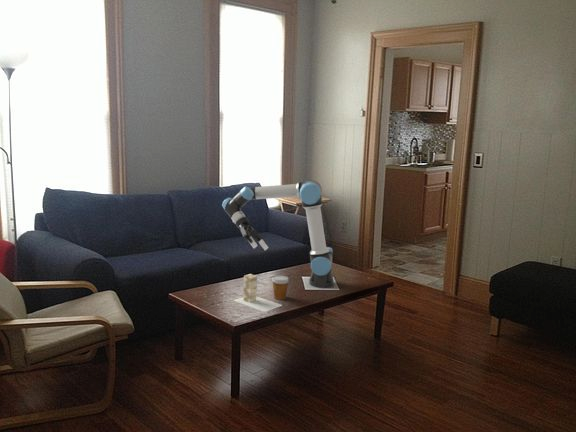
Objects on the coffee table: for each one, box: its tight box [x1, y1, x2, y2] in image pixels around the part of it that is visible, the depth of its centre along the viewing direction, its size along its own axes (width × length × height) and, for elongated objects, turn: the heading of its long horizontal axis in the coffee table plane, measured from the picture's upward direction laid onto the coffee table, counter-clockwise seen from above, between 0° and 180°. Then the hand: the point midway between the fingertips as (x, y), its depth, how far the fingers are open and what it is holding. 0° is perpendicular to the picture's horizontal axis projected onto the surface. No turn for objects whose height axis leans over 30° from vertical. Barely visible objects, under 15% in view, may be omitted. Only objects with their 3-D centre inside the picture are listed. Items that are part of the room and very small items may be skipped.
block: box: [242, 273, 258, 302], centre depth 289 cm, size 5×5×14 cm
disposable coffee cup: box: [271, 275, 290, 301], centre depth 295 cm, size 10×10×12 cm
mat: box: [233, 295, 283, 313], centre depth 287 cm, size 24×14×1 cm, turn 49°
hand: (261, 248), depth 298 cm, fingers open, 13 cm apart
